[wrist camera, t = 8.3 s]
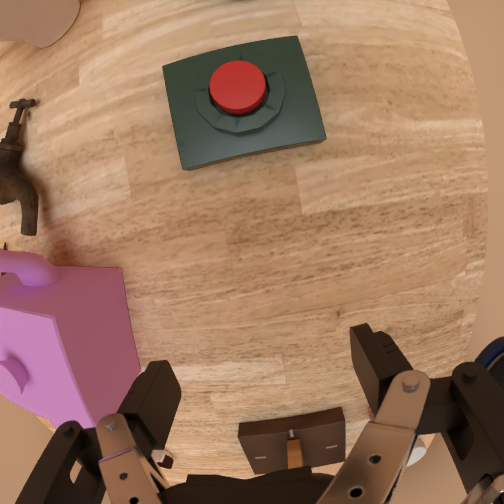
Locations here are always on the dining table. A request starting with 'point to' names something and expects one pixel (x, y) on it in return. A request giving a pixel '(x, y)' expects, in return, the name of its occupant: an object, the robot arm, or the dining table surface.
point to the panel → (299, 427)
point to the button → (238, 87)
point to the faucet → (17, 173)
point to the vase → (36, 20)
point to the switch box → (249, 124)
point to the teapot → (64, 339)
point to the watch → (162, 459)
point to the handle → (294, 454)
